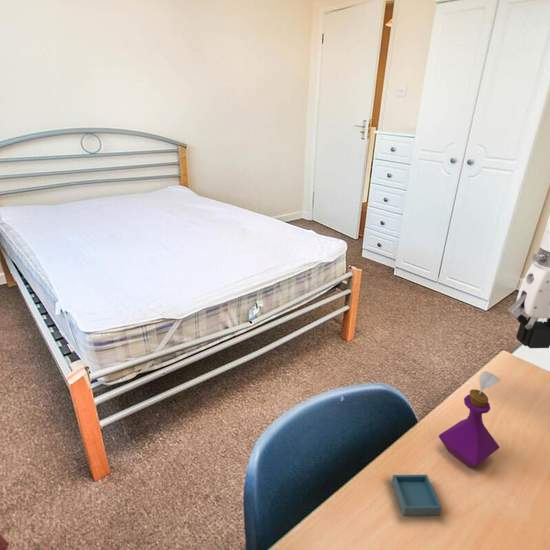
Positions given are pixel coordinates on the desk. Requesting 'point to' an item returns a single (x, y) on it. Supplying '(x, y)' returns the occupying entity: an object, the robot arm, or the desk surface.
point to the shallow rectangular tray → (415, 495)
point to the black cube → (540, 335)
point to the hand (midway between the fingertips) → (533, 341)
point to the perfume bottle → (472, 428)
